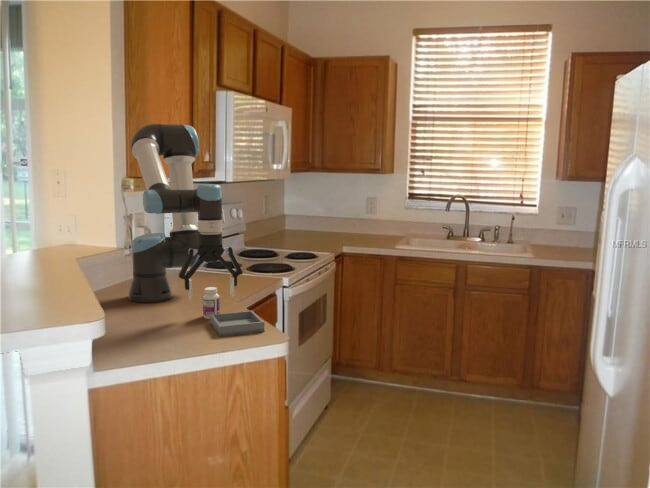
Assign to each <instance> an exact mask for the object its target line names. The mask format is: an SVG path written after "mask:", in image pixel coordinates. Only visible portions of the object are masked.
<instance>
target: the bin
mask: <svg viewBox="0 0 650 488" xmlns="http://www.w3.org/2000/svg"><path fill="white" fill-rule="evenodd" d="M209 321H210V323H209V324H210V325H211V326H212V328H213V330H215V332H216V333H217V335H218V336H219V337H229V336H236V335H237V336H238V335H239V336H240V335H246V334H256V332H258V333H264V332H265V321H264V320H263V319H262V318H261V317H260V316H259V315H258V314H257V313H255V312H254V310H244V311H234V312H231V311H230V312H223V313H222V312H221V313H220V314H210V319H209ZM263 331H264V332H263Z"/></svg>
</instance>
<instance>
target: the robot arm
mask: <svg viewBox="0 0 650 488" xmlns="http://www.w3.org/2000/svg"><path fill="white" fill-rule="evenodd" d="M130 150H131V154H132V156H133V157H134V159H136V160H137V163H138V166H139V170H140V173H141V177H142V180H143V183H144V186H145V189H146V190H145V191H143V194H142V205H143V206H142V207H143V210H144V212H145V213H147V214H156V215H159V214H171V215H172V216H171V218H172V229H171V230H169V232H168V233H169V236H166V234H165V233H164V232H158V233H157V232H155V233H147V234H146V233H145V234H142V235H139V236H136V237H134V239H133V240H132V242H131V244H132V245H131V256H132V281H131V285H130V287H129V290H128V300H129V301H131V302H135V303H157V302H162V301H166V300H169V299H171V298H172V296H173V295H172V294H173V292H172V291H173V290H172V287H171V286H170V283H169V280H168V277H167V269H177V268H181V269H180V271H179V273H178V278H179V279H182V280H184V288H185V290H186V291H187V292H188V296H187V297H188V300H189V301H193V281H192V279H191V278H192V276H193V275H194V274H195V272H196V271H197V270H198V269H199V268H200V266H202V265H203V264H204V263H210V262H213V263H214V262H215V263H216V262H218V261H219V262H220V263H221V264H222V265H223V266H224V268H226V270H227V271H228V272H229V273H230V274H231V275H229V296H230V297H232V298H233V297H235V287H237V286H238V276H240V275H243V273H244V272H243V269H242V268H241V267H240V264H239V262H238V261H237V259H236V257H235V255H234V251H233V248H232V246H226V247H224V246H223V234H222V232H223V220H222V219H223V218H222V217H223V214H222V213H223V211H222V210H223V209H222V208H223V205H222V203H223V198H222V197H223V194H222V187H221V185H220V184H215V183H214V184H210V183H209V184H205V183H204V184H203V183H202V184H198V185H197V188H194V180H193V179H194V178H193V169H192V166H193V163H194V162H195V161H196V157H197V156H198V155H199V153H200V141H199V136H198V134H197V131H196V129H195V128H194V127H193V126H191V125H190V124H189V125H187V124H182V123H180V124H173V123H172V124H168V123H167V124H166V123H148V124H146V125H143V126H142V127H140V128H139V129H138V130H137V131H136V132H135V133H134V134H133V136H132V138H131V142H130ZM160 156H162V157H163V162H164V163H165V164H166V165H167V166H168V176H169V177H168V178H169V180H168V178H167V174H166V172H165V168H164V165H163V163H162V159H161V157H160ZM196 213H197V215H196ZM196 216H197V217H196ZM224 252H225V254H227V255H228V257H229V259H230V261H231V263H232V264H233V267H234V268H235V270H236V271H235V270H234V268H232V267H231V265H229V263H228V262H227V261H226V260H225V259H224V258H223V257H222V255H223V254H224ZM189 268H190V269H189ZM188 269H189V270H188Z"/></svg>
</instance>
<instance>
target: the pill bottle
mask: <svg viewBox="0 0 650 488" xmlns="http://www.w3.org/2000/svg"><path fill="white" fill-rule="evenodd" d="M204 293H205V294H203V296H202V315H203V316H202V317H203V318H205V319H206V320H207V319H208V320H210V314H220V312H221V311H220V310H221V305H220V304H221V303H220V300H221V299H220V295H219V294H218V287H215V286H209V287H205V288H204Z"/></svg>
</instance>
